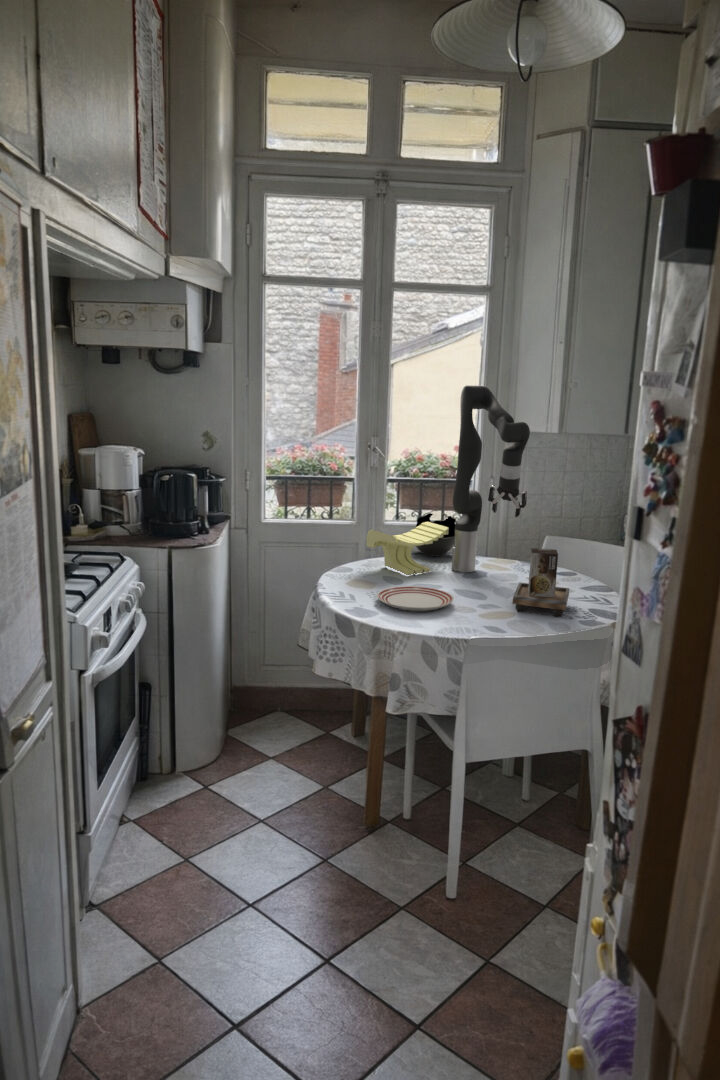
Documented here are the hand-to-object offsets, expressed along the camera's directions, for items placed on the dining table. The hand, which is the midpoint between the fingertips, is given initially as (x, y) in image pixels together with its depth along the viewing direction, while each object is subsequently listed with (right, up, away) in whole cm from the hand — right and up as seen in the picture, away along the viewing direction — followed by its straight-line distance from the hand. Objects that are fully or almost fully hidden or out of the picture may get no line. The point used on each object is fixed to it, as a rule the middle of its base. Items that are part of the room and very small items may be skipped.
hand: (505, 514), depth 304 cm
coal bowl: (-23, -17, +49) cm, 57 cm away
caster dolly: (+9, -34, -19) cm, 40 cm away
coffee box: (+9, -29, -20) cm, 37 cm away
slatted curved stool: (-37, -22, +24) cm, 49 cm away
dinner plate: (-36, -33, -19) cm, 52 cm away
